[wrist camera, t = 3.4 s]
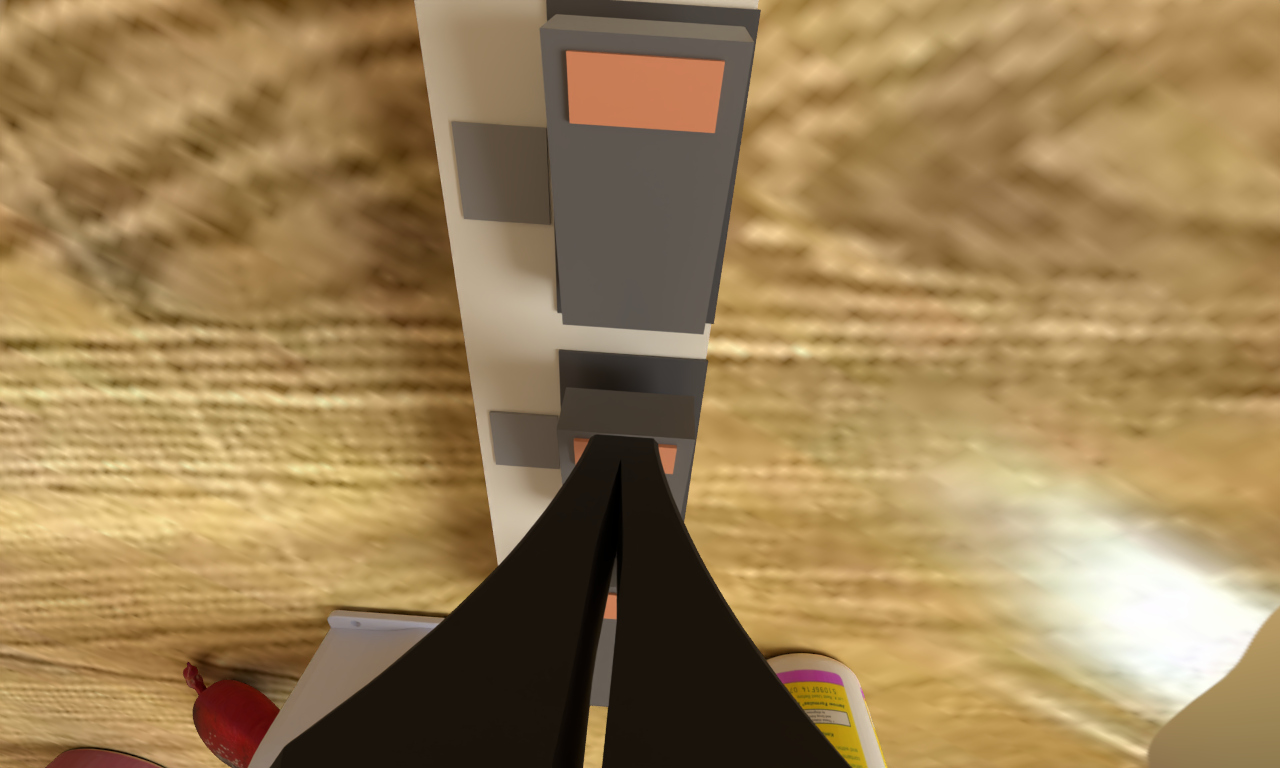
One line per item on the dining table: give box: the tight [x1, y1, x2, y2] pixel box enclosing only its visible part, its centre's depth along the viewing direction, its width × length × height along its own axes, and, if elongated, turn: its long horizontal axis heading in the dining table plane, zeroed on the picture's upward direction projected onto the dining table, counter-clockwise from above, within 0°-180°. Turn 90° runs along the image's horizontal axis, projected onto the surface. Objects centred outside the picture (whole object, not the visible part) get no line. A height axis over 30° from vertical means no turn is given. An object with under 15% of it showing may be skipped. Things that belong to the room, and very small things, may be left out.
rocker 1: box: [590, 558, 617, 707], centre depth 18 cm, size 3×6×2 cm, turn 177°
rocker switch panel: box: [414, 0, 761, 565], centre depth 16 cm, size 6×25×4 cm, turn 177°
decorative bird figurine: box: [183, 662, 280, 768], centre depth 30 cm, size 3×18×10 cm
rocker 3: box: [556, 387, 695, 515], centre depth 14 cm, size 3×6×2 cm, turn 177°
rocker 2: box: [539, 14, 754, 335], centre depth 10 cm, size 3×6×2 cm, turn 177°
